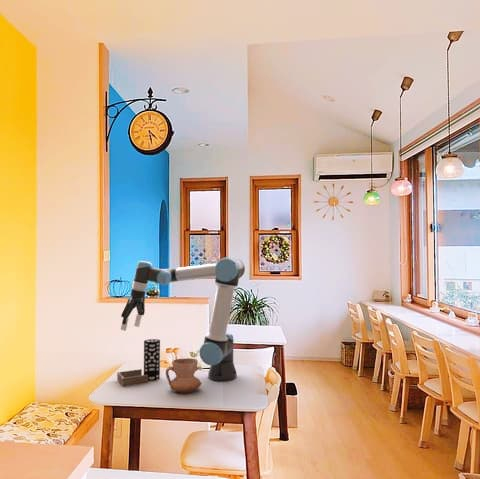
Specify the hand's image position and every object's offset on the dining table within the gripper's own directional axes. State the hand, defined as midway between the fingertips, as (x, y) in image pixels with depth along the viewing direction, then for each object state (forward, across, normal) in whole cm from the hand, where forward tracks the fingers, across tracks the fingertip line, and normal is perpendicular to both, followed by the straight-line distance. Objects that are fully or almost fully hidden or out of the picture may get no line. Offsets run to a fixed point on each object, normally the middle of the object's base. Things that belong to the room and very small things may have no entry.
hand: (130, 328), depth 216 cm
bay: (+24, +6, +11) cm, 27 cm away
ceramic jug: (+18, +11, +41) cm, 46 cm away
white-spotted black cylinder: (+23, -1, +18) cm, 29 cm away
